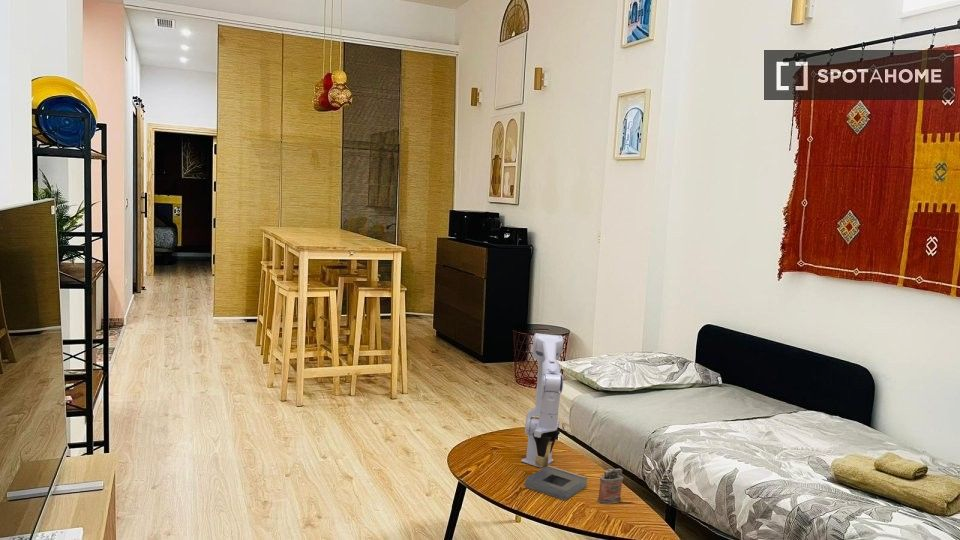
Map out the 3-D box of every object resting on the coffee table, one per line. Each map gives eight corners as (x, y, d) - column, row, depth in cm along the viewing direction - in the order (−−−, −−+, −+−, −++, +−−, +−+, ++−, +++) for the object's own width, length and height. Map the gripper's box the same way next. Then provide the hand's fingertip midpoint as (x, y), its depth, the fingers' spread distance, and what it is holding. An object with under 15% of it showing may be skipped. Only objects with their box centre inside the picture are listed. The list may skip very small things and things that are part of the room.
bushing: (537, 460, 233) (542, 436, 232) (550, 465, 231) (554, 440, 230) (531, 464, 229) (536, 439, 228) (544, 468, 227) (548, 444, 226)
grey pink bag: (601, 504, 221) (605, 472, 219) (595, 500, 223) (598, 468, 222) (622, 501, 224) (626, 470, 223) (616, 497, 227) (619, 466, 226)
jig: (547, 474, 241) (548, 464, 241) (586, 486, 233) (587, 476, 233) (524, 487, 228) (525, 476, 228) (565, 500, 221) (566, 490, 221)
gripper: (547, 404, 237) (542, 445, 238) (527, 413, 224) (522, 456, 225) (567, 409, 233) (562, 450, 234) (547, 419, 221) (543, 462, 222)
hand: (544, 454), depth 230 cm, fingers closed on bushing, 4 cm apart
